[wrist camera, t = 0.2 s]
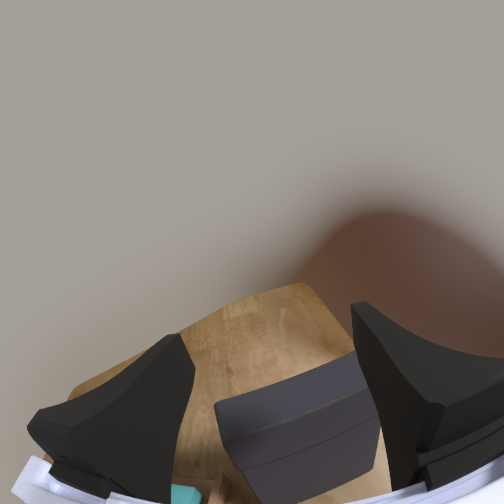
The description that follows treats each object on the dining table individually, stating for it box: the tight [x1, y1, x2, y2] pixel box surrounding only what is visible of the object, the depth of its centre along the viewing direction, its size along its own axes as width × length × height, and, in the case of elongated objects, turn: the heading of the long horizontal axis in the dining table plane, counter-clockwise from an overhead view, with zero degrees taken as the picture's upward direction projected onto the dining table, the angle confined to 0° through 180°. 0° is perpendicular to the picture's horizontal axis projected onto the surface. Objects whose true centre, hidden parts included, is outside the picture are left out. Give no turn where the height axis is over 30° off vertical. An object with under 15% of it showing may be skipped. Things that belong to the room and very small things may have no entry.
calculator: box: [214, 350, 381, 504], centre depth 18 cm, size 11×4×15 cm, turn 105°
